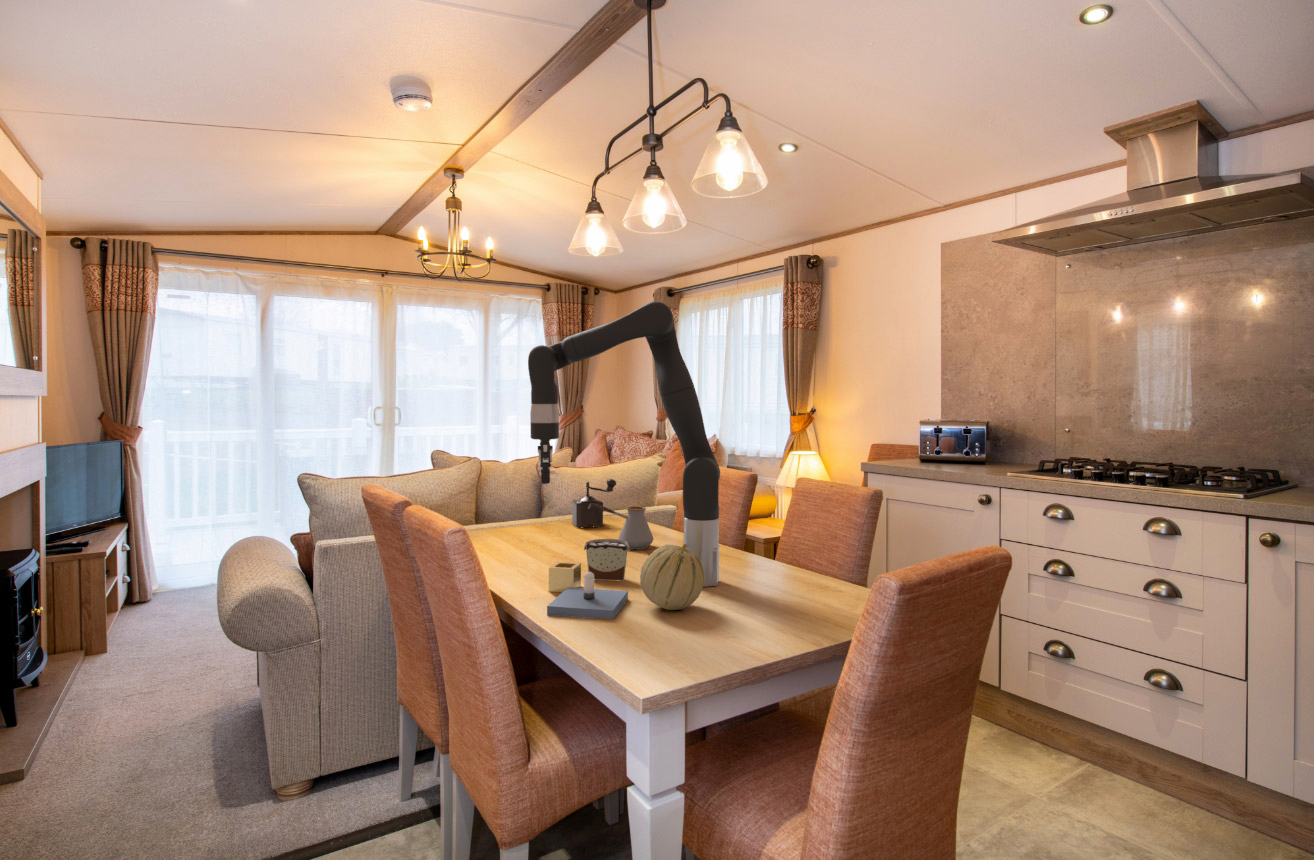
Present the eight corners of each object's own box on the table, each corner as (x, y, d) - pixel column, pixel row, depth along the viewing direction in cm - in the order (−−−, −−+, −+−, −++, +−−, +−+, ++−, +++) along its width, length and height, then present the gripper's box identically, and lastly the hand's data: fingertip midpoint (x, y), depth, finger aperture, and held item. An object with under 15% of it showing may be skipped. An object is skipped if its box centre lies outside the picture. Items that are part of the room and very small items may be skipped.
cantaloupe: (630, 602, 158) (631, 539, 157) (686, 596, 164) (687, 535, 163) (655, 622, 144) (656, 553, 143) (715, 614, 150) (716, 548, 149)
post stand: (627, 599, 160) (628, 565, 160) (612, 619, 146) (612, 582, 145) (567, 595, 163) (567, 562, 163) (547, 614, 148) (547, 578, 148)
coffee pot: (649, 542, 224) (650, 498, 224) (656, 550, 213) (657, 503, 212) (586, 545, 220) (586, 499, 219) (590, 552, 209) (590, 505, 208)
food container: (632, 575, 183) (632, 539, 182) (629, 581, 176) (629, 543, 176) (588, 573, 184) (588, 537, 183) (583, 579, 178) (583, 542, 177)
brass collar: (580, 586, 171) (580, 563, 171) (573, 593, 165) (573, 569, 165) (557, 584, 172) (557, 561, 172) (548, 591, 166) (548, 567, 166)
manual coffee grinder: (576, 528, 248) (576, 480, 247) (571, 523, 258) (571, 477, 257) (617, 526, 252) (617, 479, 251) (610, 521, 263) (611, 476, 262)
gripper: (559, 421, 171) (560, 484, 172) (558, 420, 185) (558, 478, 186) (530, 422, 170) (530, 485, 171) (530, 420, 184) (531, 479, 185)
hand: (545, 481), depth 178 cm, fingers open, 8 cm apart
